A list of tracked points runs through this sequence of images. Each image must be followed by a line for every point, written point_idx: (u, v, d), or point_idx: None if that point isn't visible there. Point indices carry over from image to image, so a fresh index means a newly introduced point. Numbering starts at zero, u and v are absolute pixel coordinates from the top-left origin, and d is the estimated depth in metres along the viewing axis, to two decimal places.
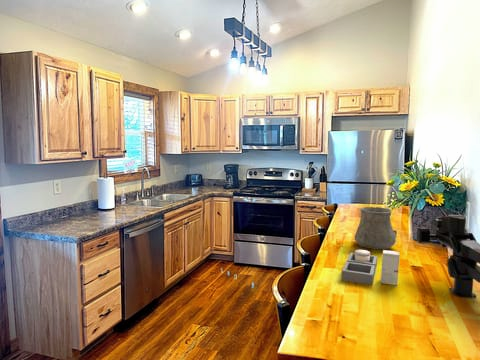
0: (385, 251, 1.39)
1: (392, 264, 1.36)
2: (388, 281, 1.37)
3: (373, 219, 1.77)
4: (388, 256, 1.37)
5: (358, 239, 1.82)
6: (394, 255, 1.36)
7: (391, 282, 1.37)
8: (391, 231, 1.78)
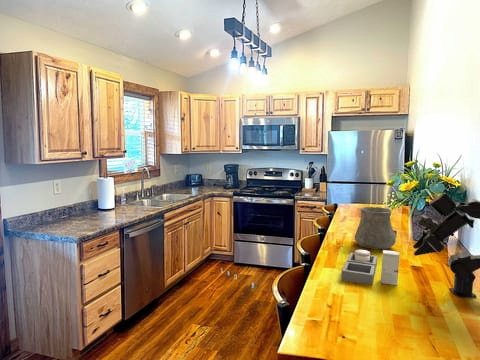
0: (385, 251, 1.39)
1: (392, 264, 1.36)
2: (388, 281, 1.37)
3: (373, 219, 1.77)
4: (388, 256, 1.37)
5: (358, 239, 1.82)
6: (394, 255, 1.36)
7: (391, 282, 1.37)
8: (391, 231, 1.78)
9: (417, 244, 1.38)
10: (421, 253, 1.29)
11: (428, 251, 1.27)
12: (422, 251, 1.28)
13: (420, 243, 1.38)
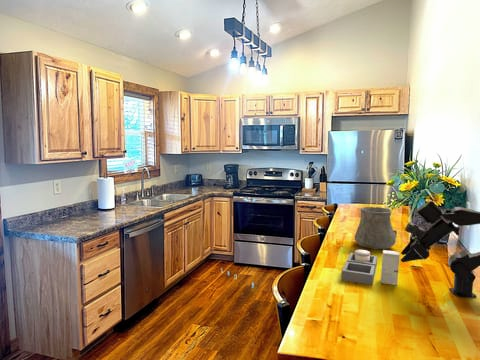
0: (385, 251, 1.39)
1: (392, 264, 1.36)
2: (388, 281, 1.37)
3: (373, 219, 1.77)
4: (388, 256, 1.37)
5: (358, 239, 1.82)
6: (394, 255, 1.36)
7: (391, 282, 1.37)
8: (391, 231, 1.78)
9: (405, 250, 1.40)
10: (408, 260, 1.31)
11: (414, 258, 1.29)
12: (409, 258, 1.30)
13: (408, 249, 1.40)
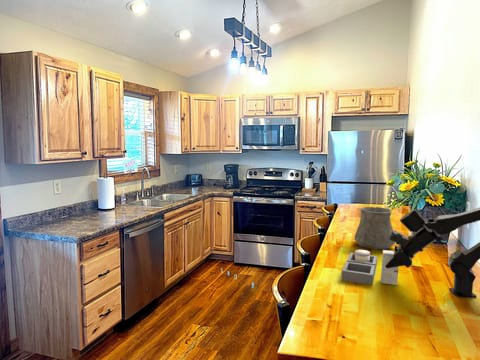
0: (385, 251, 1.39)
1: None
2: (388, 281, 1.37)
3: (373, 219, 1.77)
4: (388, 256, 1.37)
5: (358, 239, 1.82)
6: None
7: (391, 282, 1.37)
8: (391, 231, 1.78)
9: None
10: (392, 266, 1.35)
11: (398, 264, 1.34)
12: (393, 264, 1.35)
13: None
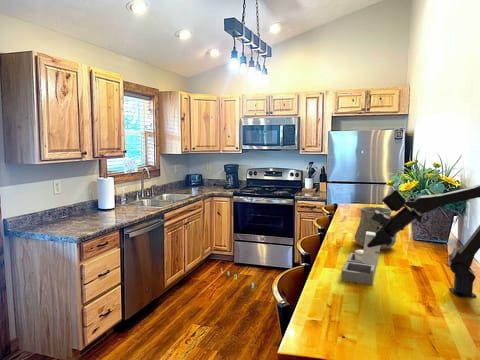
0: (368, 232, 1.41)
1: None
2: (368, 261, 1.40)
3: None
4: (370, 238, 1.39)
5: (358, 239, 1.82)
6: None
7: (371, 262, 1.39)
8: None
9: None
10: (373, 245, 1.37)
11: (379, 243, 1.36)
12: (374, 243, 1.37)
13: None
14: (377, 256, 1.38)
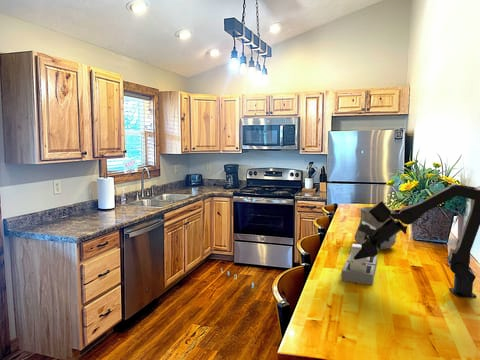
0: (354, 244, 1.44)
1: None
2: None
3: (373, 219, 1.77)
4: (356, 249, 1.42)
5: (358, 239, 1.82)
6: None
7: None
8: None
9: None
10: (360, 257, 1.38)
11: (365, 255, 1.36)
12: (360, 255, 1.37)
13: None
14: (364, 267, 1.41)
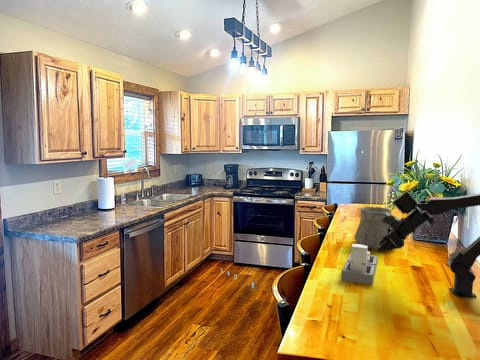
0: (354, 244, 1.44)
1: (360, 257, 1.41)
2: None
3: (373, 219, 1.77)
4: (356, 249, 1.42)
5: (358, 239, 1.82)
6: (362, 248, 1.41)
7: None
8: None
9: (383, 241, 1.43)
10: (384, 249, 1.34)
11: (390, 247, 1.32)
12: (385, 247, 1.33)
13: (385, 240, 1.43)
14: (364, 267, 1.41)
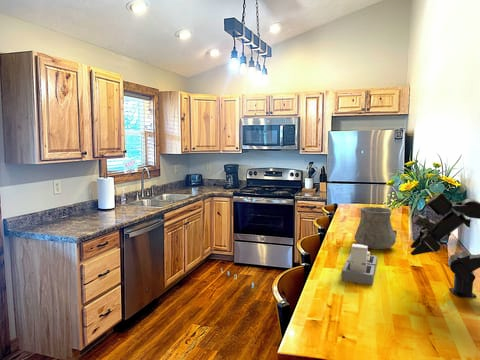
0: (354, 244, 1.44)
1: (360, 257, 1.41)
2: None
3: (373, 219, 1.77)
4: (356, 249, 1.42)
5: (358, 239, 1.82)
6: (362, 248, 1.41)
7: None
8: (391, 231, 1.78)
9: (414, 244, 1.38)
10: (418, 253, 1.29)
11: (425, 251, 1.27)
12: (419, 251, 1.29)
13: (417, 243, 1.38)
14: (364, 267, 1.41)
